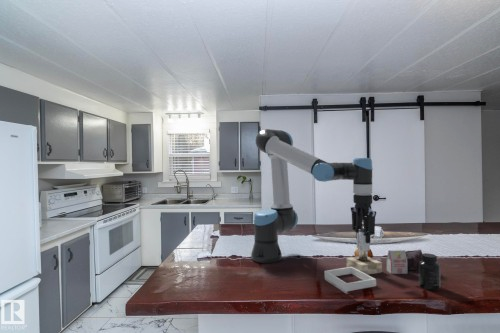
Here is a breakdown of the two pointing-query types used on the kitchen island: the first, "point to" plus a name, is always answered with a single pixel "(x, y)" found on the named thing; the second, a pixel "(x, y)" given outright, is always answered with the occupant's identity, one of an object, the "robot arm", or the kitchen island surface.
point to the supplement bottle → (429, 272)
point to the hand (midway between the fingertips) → (363, 248)
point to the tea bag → (397, 262)
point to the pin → (362, 254)
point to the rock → (413, 259)
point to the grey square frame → (343, 286)
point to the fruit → (358, 253)
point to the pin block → (365, 265)
